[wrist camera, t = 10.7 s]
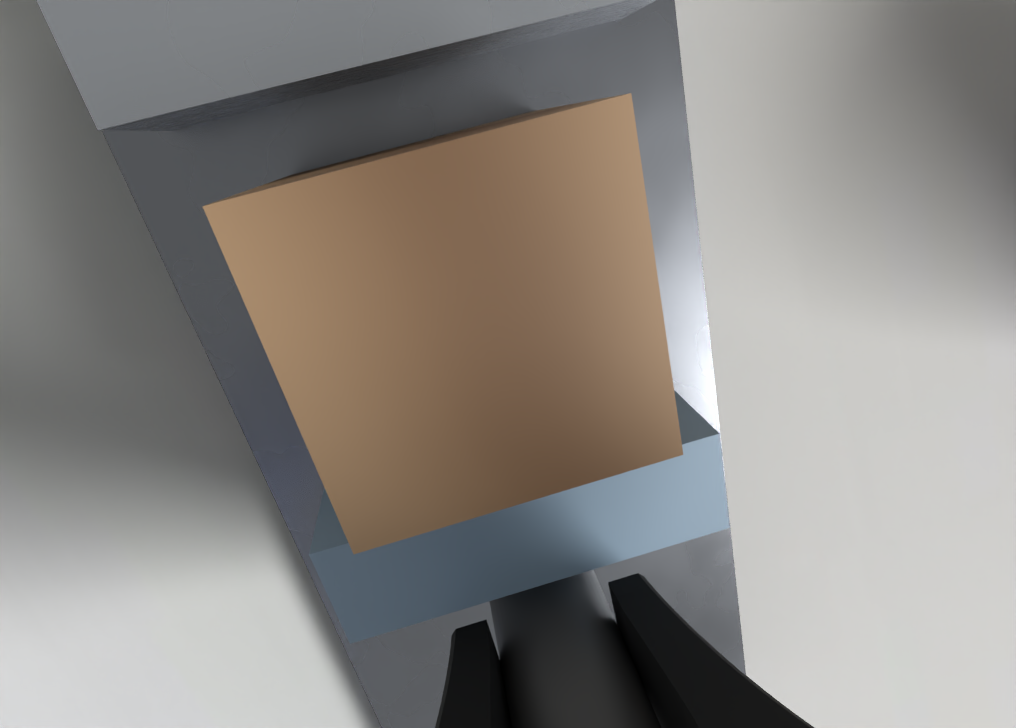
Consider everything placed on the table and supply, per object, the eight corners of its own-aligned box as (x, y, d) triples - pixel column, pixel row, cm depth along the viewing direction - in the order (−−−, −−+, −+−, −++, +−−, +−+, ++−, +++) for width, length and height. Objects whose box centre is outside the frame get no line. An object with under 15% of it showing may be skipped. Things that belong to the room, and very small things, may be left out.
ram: (679, 555, 15) (862, 838, 9) (404, 640, 14) (403, 996, 8) (645, 325, 12) (864, 501, 6) (313, 418, 12) (222, 697, 6)
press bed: (731, 674, 18) (800, 788, 15) (419, 774, 18) (422, 915, 15) (640, -93, 11) (740, -190, 8) (86, 38, 10) (-62, -6, 7)
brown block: (372, 396, 12) (353, 555, 8) (291, 175, 11) (202, 206, 6) (581, 336, 13) (683, 454, 8) (535, 110, 11) (631, 93, 6)
